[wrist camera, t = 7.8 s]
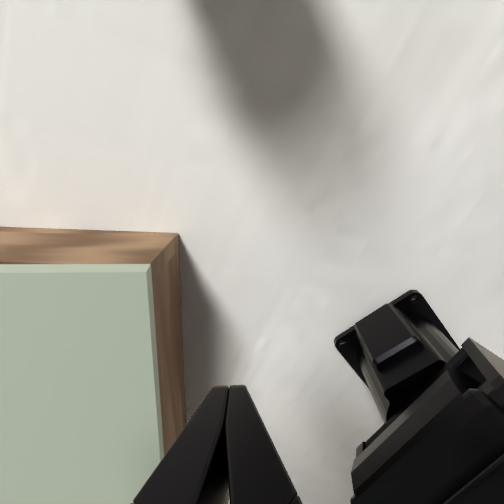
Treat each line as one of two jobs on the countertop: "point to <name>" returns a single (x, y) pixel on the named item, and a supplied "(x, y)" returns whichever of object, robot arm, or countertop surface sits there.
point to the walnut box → (122, 252)
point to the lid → (77, 383)
